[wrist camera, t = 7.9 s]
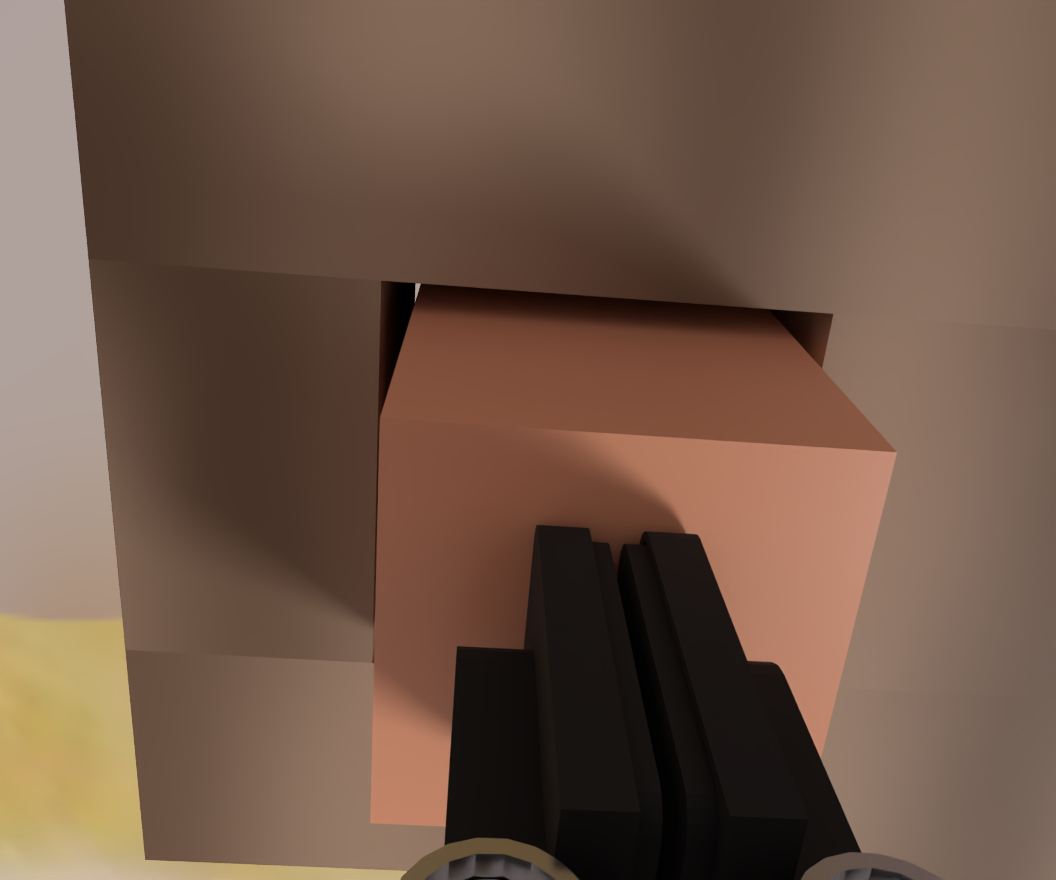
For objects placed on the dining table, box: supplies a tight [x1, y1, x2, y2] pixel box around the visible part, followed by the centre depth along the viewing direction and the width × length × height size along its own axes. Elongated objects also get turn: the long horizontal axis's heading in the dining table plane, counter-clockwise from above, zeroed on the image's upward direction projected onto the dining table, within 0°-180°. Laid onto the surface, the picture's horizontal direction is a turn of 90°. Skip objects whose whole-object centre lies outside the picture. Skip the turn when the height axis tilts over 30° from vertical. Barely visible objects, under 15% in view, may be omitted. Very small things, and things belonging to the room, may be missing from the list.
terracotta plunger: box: [370, 284, 897, 827], centre depth 14 cm, size 5×5×8 cm
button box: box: [64, 0, 1056, 880], centre depth 17 cm, size 28×14×6 cm, turn 85°
